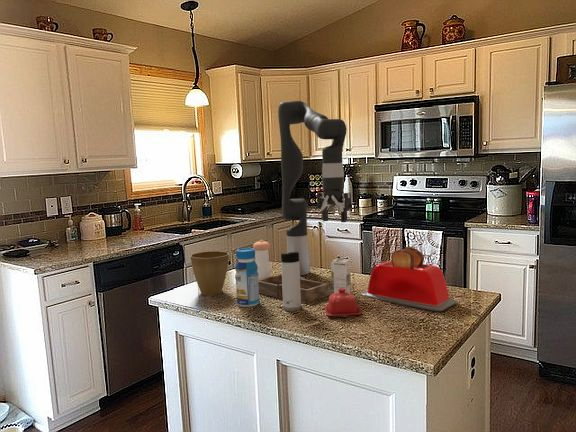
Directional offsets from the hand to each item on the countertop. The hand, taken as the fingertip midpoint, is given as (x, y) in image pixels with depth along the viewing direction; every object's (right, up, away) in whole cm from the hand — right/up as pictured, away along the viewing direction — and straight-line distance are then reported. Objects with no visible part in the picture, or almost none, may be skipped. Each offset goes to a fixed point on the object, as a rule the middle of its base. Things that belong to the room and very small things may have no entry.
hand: (334, 221), depth 173 cm
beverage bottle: (-31, -30, +2) cm, 43 cm away
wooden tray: (-15, -28, +13) cm, 34 cm away
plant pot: (-47, -29, +18) cm, 58 cm away
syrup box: (+3, -28, +3) cm, 29 cm away
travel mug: (-15, -30, -5) cm, 34 cm away
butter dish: (+2, -31, -12) cm, 33 cm away
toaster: (+26, -28, -1) cm, 38 cm away
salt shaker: (-27, -27, +27) cm, 47 cm away
